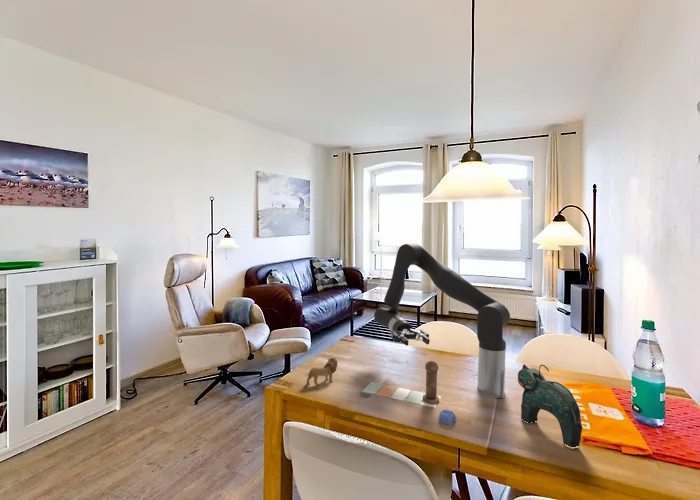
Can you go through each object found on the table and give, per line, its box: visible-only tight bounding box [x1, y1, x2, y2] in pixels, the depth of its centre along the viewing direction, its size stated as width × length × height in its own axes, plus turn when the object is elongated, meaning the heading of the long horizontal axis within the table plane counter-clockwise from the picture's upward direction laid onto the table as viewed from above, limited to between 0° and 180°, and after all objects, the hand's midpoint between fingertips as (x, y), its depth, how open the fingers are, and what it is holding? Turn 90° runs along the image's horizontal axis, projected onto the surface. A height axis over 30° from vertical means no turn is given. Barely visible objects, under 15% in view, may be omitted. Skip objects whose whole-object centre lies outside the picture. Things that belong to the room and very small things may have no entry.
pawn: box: [422, 360, 440, 405], centre depth 127 cm, size 6×6×14 cm
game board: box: [360, 381, 442, 409], centre depth 132 cm, size 27×10×1 cm, turn 64°
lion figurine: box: [305, 356, 339, 387], centre depth 144 cm, size 15×5×9 cm, turn 130°
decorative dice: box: [438, 409, 457, 426], centre depth 114 cm, size 4×4×4 cm
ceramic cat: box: [517, 364, 583, 447], centre depth 111 cm, size 20×6×20 cm, turn 21°
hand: (418, 342), depth 137 cm, fingers open, 8 cm apart
